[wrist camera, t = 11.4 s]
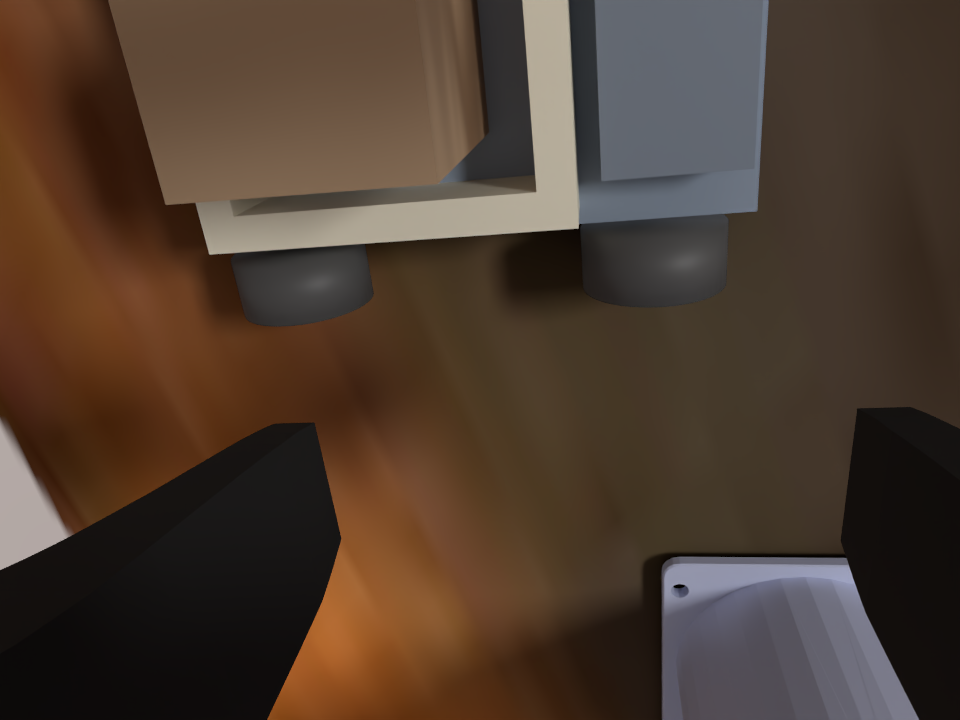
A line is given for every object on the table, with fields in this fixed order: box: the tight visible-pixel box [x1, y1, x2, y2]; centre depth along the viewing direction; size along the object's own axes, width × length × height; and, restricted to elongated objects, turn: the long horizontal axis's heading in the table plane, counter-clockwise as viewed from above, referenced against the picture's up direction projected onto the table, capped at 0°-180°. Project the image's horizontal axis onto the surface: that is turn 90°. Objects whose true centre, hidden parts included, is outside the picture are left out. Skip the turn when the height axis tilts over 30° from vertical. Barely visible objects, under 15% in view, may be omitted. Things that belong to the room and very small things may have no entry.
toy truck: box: [196, 0, 768, 326], centre depth 15 cm, size 12×13×3 cm
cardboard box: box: [108, 0, 489, 205], centre depth 13 cm, size 4×4×6 cm
